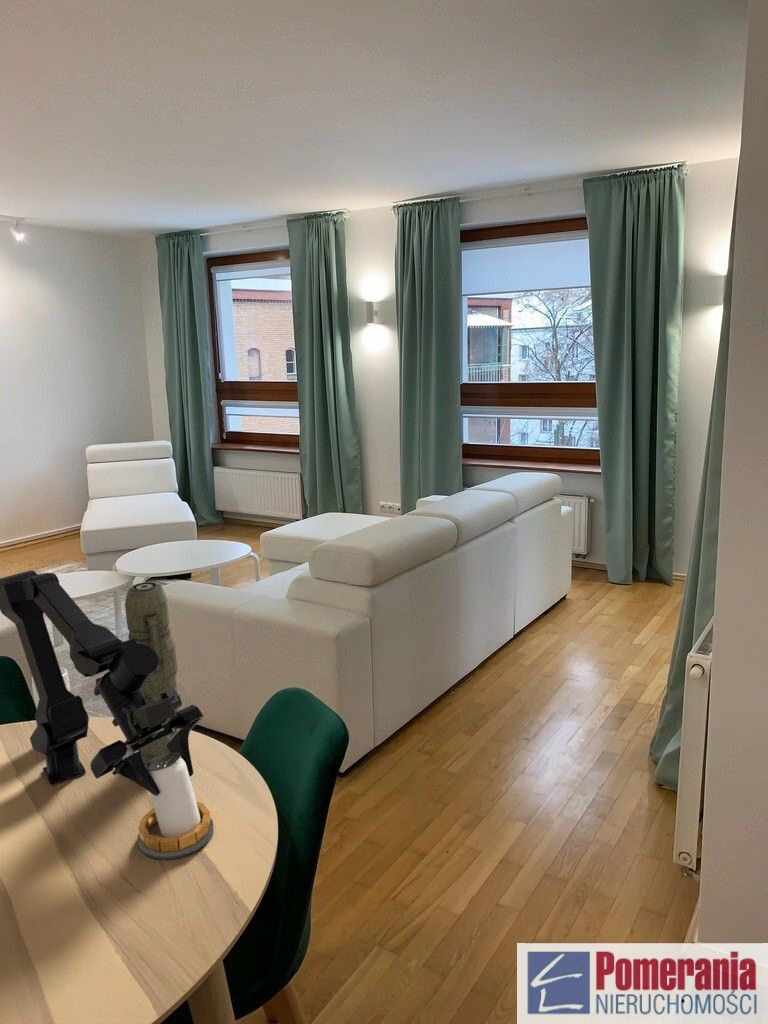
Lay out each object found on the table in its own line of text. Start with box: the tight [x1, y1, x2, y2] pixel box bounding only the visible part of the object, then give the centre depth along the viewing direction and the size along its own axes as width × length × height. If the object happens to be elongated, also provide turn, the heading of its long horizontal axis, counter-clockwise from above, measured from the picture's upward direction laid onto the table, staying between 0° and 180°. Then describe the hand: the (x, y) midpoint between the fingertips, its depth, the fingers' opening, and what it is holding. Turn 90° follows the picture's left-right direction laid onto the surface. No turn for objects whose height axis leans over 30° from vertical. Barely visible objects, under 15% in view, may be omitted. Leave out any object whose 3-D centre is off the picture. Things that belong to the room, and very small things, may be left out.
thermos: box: [124, 581, 180, 766], centre depth 148 cm, size 9×12×35 cm
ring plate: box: [137, 801, 214, 861], centre depth 127 cm, size 12×12×3 cm
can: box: [146, 752, 200, 838], centre depth 126 cm, size 6×6×12 cm
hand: (175, 784), depth 124 cm, fingers closed on can, 6 cm apart
